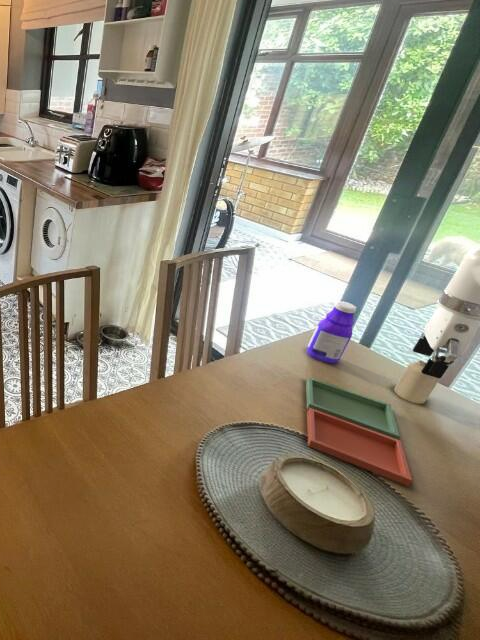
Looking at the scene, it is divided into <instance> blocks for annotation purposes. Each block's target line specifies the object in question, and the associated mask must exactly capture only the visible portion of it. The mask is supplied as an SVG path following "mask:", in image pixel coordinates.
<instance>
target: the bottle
mask: <svg viewBox="0 0 480 640" xmlns="http://www.w3.org/2000/svg"><path fill="white" fill-rule="evenodd" d="M356 310H357V306H356V305H354V304H352V303H350V302H347V301H339V300H338V301H336V303H335V305H334V307H333V309H332V310H331V311H329V312H327V313H326V314H325V316H326V317H325V318H323V319H321V320H320V321H319V322H318V323H317V325H316V326H315V329H314V331H313V334H312V335H311V338H310V340H309V342H308V344H307V347H306V348H307V355H308V356H309V357H311V358H312V359H315V360H317V361H320V362H324V363H327V364H336V363H338V362H339V361H340V360H341V357H342V356H343V354H344V352H345V350H346V348H347V346H348V345H349V342H350V340H351V338H352V337H353V325H354V324H355V321H354V315H355V313H356Z"/></svg>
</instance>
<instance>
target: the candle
mask: <svg viewBox="0 0 480 640" xmlns="http://www.w3.org/2000/svg"><path fill="white" fill-rule="evenodd" d="M426 363H427V362H424V360H418V361H417V360H416V361H412V362H409V363H408V365H407V366H406V368H405V370H404V372H403V374H402V375H401V377H400V379H399V381H398V382H397V383H396V385H395V387H394V390H393V391H394V392H395V394H396V395H397V396H399V397H400V398H402V399H404V400H405V401H408V402H410V403H413V404H418V405H421V404H424V403H425V402H426V401H427V400H428V398H429V397H430V395H431V393H432V392H433V391H434V389H435V388H436V386H437V384H438V383H439V381H440V380H441V378H435V377H432V376H429V375H426V374H423V373H422V372H421V370H422V369H423V367H424V366H425V364H426Z"/></svg>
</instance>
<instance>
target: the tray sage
mask: <svg viewBox="0 0 480 640" xmlns="http://www.w3.org/2000/svg"><path fill="white" fill-rule="evenodd" d="M305 393H306V410H307V411H308V410H309V408H312V409H315V410H318V411H320V412H323V413H326V414H329V415H331V416H334V417H337V418H340V419H342V420H345V421H348V422H351V423H353V424H356V425H359V426H362V427H364V428H367V429H370V430H373V431H375V432H378V433H381V434H383V435H386V436H389V437H392V438H394V439H397V440H399V439H400V432H399V428H398V425H397V422H396V419H395V415H394V411H393V408H392V404H391V403H388V402H385V401H382V400H379V399H375V398H372V397H370V396H366V395H363V394H361V393H358V392H354V391H351V390H348V389H346V388H343V387H339V386H336V385H334V384H330V383H328V382H325V381H321V380H319V379H316V378H312V377H310V376H309V377H307V380H305Z"/></svg>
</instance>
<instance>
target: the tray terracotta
mask: <svg viewBox="0 0 480 640" xmlns="http://www.w3.org/2000/svg"><path fill="white" fill-rule="evenodd" d="M306 421H307V424H306V425H307V446H308V447H310V448H312V449H315V450H317V451H320V452H322V453H324V454H326V455H327V454H328V455H330V456H332V457H335V458H337V459H339V460H342V461H345V462H347V463H349V464H352V465H354V466H357V467H358V468H361V469H364V470H367V471H369V472H371V473H374V474H377V475H378V476H381V477H384V478H387V479H389V480H391V481H394V482H396V483H398V484H402V485H403V486H406V487H409V486H410V485H411V483H412V482H413V478H412V474H411V471H410V467H409V464H408V461H407V457H406V453H405V449H404V448H403V443H402V440H400V439H398V440H397V439H394V438H392V437H389V436H386V435H383V434H381V433H378V432H375V431H373V430H370V429H367V428H364V427H362V426H359V425H356V424H353V423H351V422H348V421H345V420H342V419H340V418H337V417H334V416H331V415H329V414H326V413H323V412H320V411H318V410H315V409H312V408H309V410H308V409H307V412H306Z"/></svg>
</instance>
